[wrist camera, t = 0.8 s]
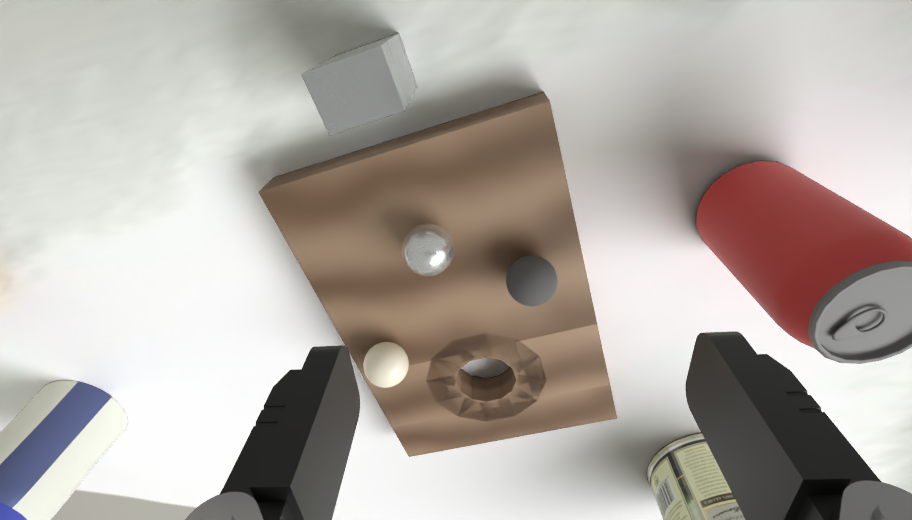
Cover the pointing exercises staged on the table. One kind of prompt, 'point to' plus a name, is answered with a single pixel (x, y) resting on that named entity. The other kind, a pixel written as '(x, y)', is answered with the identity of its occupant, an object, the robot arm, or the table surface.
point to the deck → (455, 275)
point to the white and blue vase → (55, 447)
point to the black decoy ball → (531, 280)
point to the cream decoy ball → (386, 364)
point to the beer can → (812, 260)
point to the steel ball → (427, 249)
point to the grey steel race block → (362, 84)
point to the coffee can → (691, 483)
